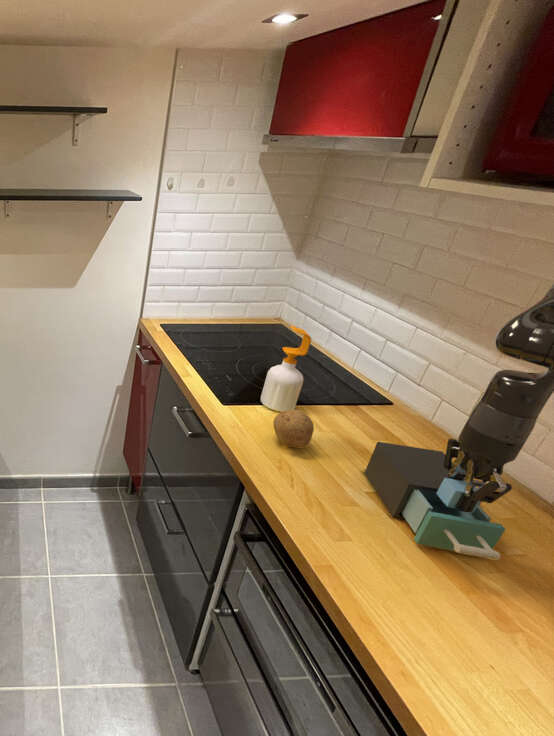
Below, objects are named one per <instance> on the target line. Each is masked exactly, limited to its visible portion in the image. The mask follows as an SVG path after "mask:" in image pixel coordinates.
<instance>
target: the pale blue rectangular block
mask: <svg viewBox="0 0 554 736" xmlns="http://www.w3.org/2000/svg"><path fill="white" fill-rule="evenodd" d="M465 487H466V482H465V481H461V480H455V479H449V478H444V480H443V482H442V484H441V485H440V487H439V489H438V491H437V493H436V494H437V495H438V496H439V497H440V499H441V500H442V501H443V502H444V504H445V505H446V506H447V507H451V508H456V507H455V506H456V504H457V502H458V500H459V499H460V497H461V495H462V493H464V490H465ZM473 490H474V491H477V490H478V486H475V487H474V489H473ZM479 503H480V501H478V503H477V504H476V506H475V508H474V510H473V511H474V512H475V510H476V508H477V507H478V505H479ZM480 504H481V503H480ZM479 506H480V505H479Z"/></svg>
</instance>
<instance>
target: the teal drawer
mask: <svg viewBox="0 0 554 736" xmlns="http://www.w3.org/2000/svg"><path fill="white" fill-rule="evenodd" d="M436 493H437V492H435V491H429V490H423V489H418V488H412V489H411V491H410V493H409V495H408V497H407V499H406V501H405V503H404V505H403V507H402V510H401V513H402V515H403V516H404V518H405V519H406V520H405V521H406V522H407V524H408V525H409V527H410V528H411V530H412V531H413V533H414V534H415V536H414V538H413V540H414V541H415V543H416V544H417V545H421V546H427V547H432V548H437V549H442V550H447V551H452V552H456V553H457V554H463V555H469V556H472V557H478V558H484V559H488V560H495V561H500V559H501V553H500V552H499V551H497V550H494V549H495V547H496V546H497V543H498V542H499V540H500V539H501V537H502V536H503V534H504V533H505V531H506V527H504V526H503V524H501V523H496V522H492V521H491V520H492V518H491V517H490V516H489V514H488V513H487V512H486V511H485V510H484V509H483V508H482V507H481V505H478V507H477V508H476V510H475V512H474V511H472V512H463V511H458V510H457V508H451V507H447V506H446V505H445V504H444V502H443V501H442V500H441V499H440V497H439V496H438V495H437V494H436ZM490 521H491V522H490Z"/></svg>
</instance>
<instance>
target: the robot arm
mask: <svg viewBox="0 0 554 736" xmlns="http://www.w3.org/2000/svg"><path fill="white" fill-rule="evenodd" d="M494 345H495V349H496V350H497V351H498V352H499V353H500V354H502V355H503V356H505V357H508V358H512V359H515V360H519V361H522V362H525V363H529V364H533V365H536V366H539V367H543V368H546V370H544V371H540V372H531V371H530V372H529V371H523V370H513V369H501V370H499V371H496V372H495V373H494V374H493V375H492V377H491V379H490V381H489V382H488V384H487V385H486V388H485V390H484V391H483V394H482V395H481V398H480V399H479V401H478V402H477V403H476V404H475V406H474V407H473V409H472V410H471V413H470V414H469V416H468V418H467V420H466V422H465V424H464V426H463V428H462V429H461V432H460V433H459V436H458V438H457V439H455V438H448V439H447V443H446V449H445V460H444V468H446V469H448V476H449V477H448V478H449V479H455V480H461V481H465V482H466V487H465V490H464V493H462V495H461V497H460V499H459V500H458V502H457V504H456V506H455V507H456V508H457V510H458V511H463V512H472V511H473V510H474V508H475V506H476V504H477V503H478V501H481V503H487V504H493V503H494V502H496V501H497V500H499V499H500V498H502V497H503V496H505V495H506V494H508V493H510V492H511V491H512V489H513V486H512V484H511V483H507V482H504V479H503V478H502V475H503V473H504V466H505V465H507V464H508V463H511V462H513V461H515V460H516V459H517V458H518V456H519V453H520V452H521V451H522V449H523V447H524V446H525V444H526V442H527V441H528V439H529V437H530V435H531V434H532V432H533V430H534V429H535V426H536V423H537V420H538V418H539V416H540V414H541V413H542V411H543V409H544V407H545V406H546V404H547V403H548V401H549V399H550V398H551V397H552V395H553V394H554V283H553V284H552V285H551V287H550V288H549V289H548V290H547V292H546V293H545V294H544V295H543V297H542V298H541V299H540V300H538V301H537V302H536V303H534V304H533V305H531V306H530V307H529V308H527V309H526V310H524V311H522V312H520V313H519V314H517V315H516V316H514V317H513V318H511V319H510V320H509V321H507V322H506V323H504V324H503V326H502V327H501V328H500V329H499V330H498V331H497V333H496V335H495V338H494ZM453 459H454V460H453ZM451 462H453V463H451ZM475 486H476V487H477V489H478V490H477V491H474V490H473V489H474V487H475Z"/></svg>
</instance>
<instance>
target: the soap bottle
mask: <svg viewBox="0 0 554 736" xmlns="http://www.w3.org/2000/svg"><path fill="white" fill-rule="evenodd" d="M290 328H291V329H292V330H293V331H294V332H295V333H297V334H299V335H302V336H303V337H302V340H301V343H300V346H299V347H289V346H283V347H282V351H283V353H285V354H286V355H287V356H285V357H283V358H282V359H283V360H282V362H281V364H277V365H275V366H271V367H270V369H268V371H267V373H266V377H265V380H264V383H263V388H262V391H261V394H260V402H261V404H262V405H263V406H265V407H266V408H267V409H270V410H272V411H276V412H279V413H281V412H283V411H286V410H295V408H296V405H297V402H298V399H299V396H300V392H301V390H302V387H303V384H304V375H303V374H302V372H300V370H298V368H296V366H297V362H298V360H297V359H296V358H297V357H298V356H306V355H307V354H308V352H309V348H310V346H311V342H312V337H311V336H310V335H309V334H308V332H306V330H304V329H303V328H299V327H297V326H295V325H291V326H290Z"/></svg>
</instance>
